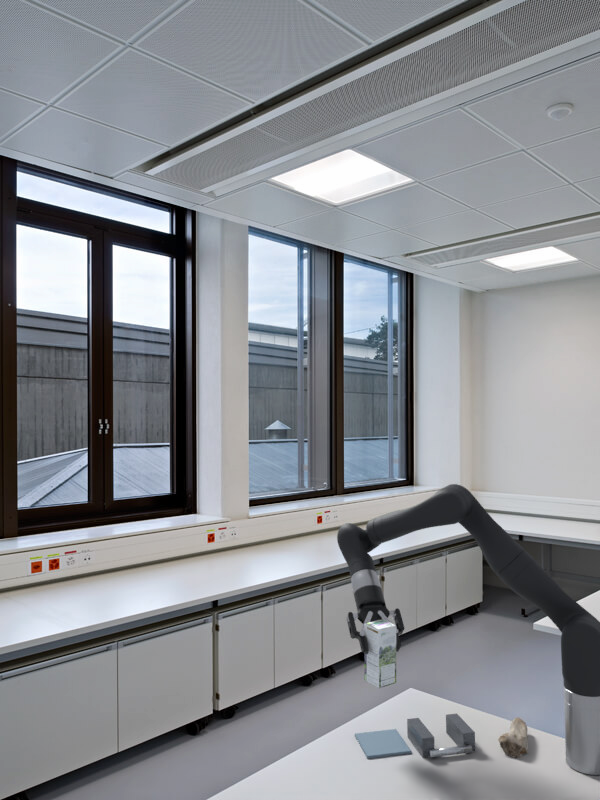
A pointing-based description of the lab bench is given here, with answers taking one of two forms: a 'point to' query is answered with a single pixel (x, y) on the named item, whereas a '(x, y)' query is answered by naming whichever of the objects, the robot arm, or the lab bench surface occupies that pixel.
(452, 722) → the vise
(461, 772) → the lab bench surface
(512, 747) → the bone fragment
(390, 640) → the syrup box
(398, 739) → the mat
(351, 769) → the lab bench surface
